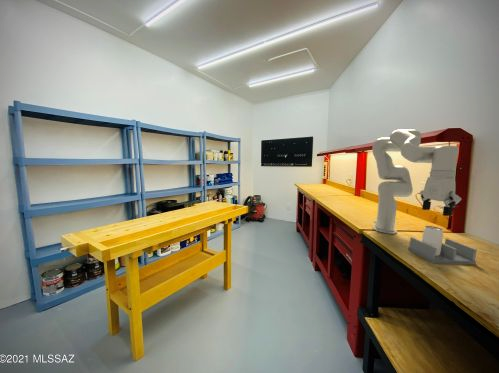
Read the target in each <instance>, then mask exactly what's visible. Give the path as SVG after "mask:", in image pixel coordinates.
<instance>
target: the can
mask: <svg viewBox="0 0 499 373" xmlns="http://www.w3.org/2000/svg"><path fill="white" fill-rule="evenodd" d="M443 238H444V231H443V228H441V227H437V226H434V225H433V226H432V225H425V227H424V228H423V233H422V239H421V241H422V242H424V243H426V244H428V245H430V246H432V247H435V248H437V249H436V255H435V256H439V255H440V252H441V246H442V243H443V240H444V239H443Z"/></svg>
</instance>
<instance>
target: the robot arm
mask: <svg viewBox="0 0 499 373" xmlns="http://www.w3.org/2000/svg"><path fill="white" fill-rule="evenodd" d="M421 139H422V133H421V132H420V131H419V130H417V129H396V130H394V131H393V132H392V133H390V135H389V137H380V138H378V139H376V140H375V141H374V142H373V144H372V148H371V150H372V154H373V157H374V159H375V161H376V162H375V163H376V168H377V169H376V170H377V174H378V178H379V179H380V180H383V181H382V182H380V183H379V184H378V186H377V193H378V202H377V203H378V204H377V214H376V221H375V220H374V221H373V223H374V224H375V225H373V227H372V229H373V230H375V231H376V232H379V233H382V234H389V235H390V234H393V235H394V234H397V233H398V230H397V229H395V225H396V217H397V209H398V208H397V207H398V204H397V201H396V199H395V198H408V197H410V196H411V195H412V194H413V188H414V187H413V184H412V178H411V175H410V171H409V169H408V168H407V167H406V166H404V165H394V163H393V158H392V157H391V155H390V154H389V153H387V152H396V153H398V152H400V155H401V157H403V159H405V160H407V161H408V162H411V163H415V164H417V163H420V164H421V163H422V164H423V163H424V164H431V166H430V172H429V176H428V177H427V178H426V181H425V183H424V187H423V189H422V190H421V191H420V192H419V193H420V198H421V201H422V207H421V210H423V211H430V210H431V206H432V200H433V201H438V202H443V204H444V206H443V210H442V216H444V217H452V215H453V209H454V208H455V207H456V206H457V205H458V204H459V203H460V202H461V201H462V197H460V196H459V195H458V194H456V178H455V175H456V174H455V173H456V168H457V162H458V157H459V152H460V151H459V147H458V146H457V145H440V146H438V145H437V146H421V141H422V140H421Z"/></svg>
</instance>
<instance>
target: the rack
mask: <svg viewBox="0 0 499 373" xmlns="http://www.w3.org/2000/svg"><path fill="white" fill-rule="evenodd" d="M407 249H408V251H410V252H412V253H413V254H416V255H417V256H418V257H420V258H423V259H424V260H427V261H428V262H430V263H432V264H442V265H443V264H445V265H447V264H448V265H473V266H474V265H477V261H476V256H477V252H478V250H477V248H474V247H471V246H468V245H467V244H466V245H465V244H463V243H461V242H458V241H455V240H453V239H450V238H445V241H444V242H442V246H441V252H440V255H439V256H435V255H436V249H437V248H435V247H432V246H430V245H428V244H426V243H424V242H422V240H420V239H417V238H415V237H410V239H409V246H407Z"/></svg>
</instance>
